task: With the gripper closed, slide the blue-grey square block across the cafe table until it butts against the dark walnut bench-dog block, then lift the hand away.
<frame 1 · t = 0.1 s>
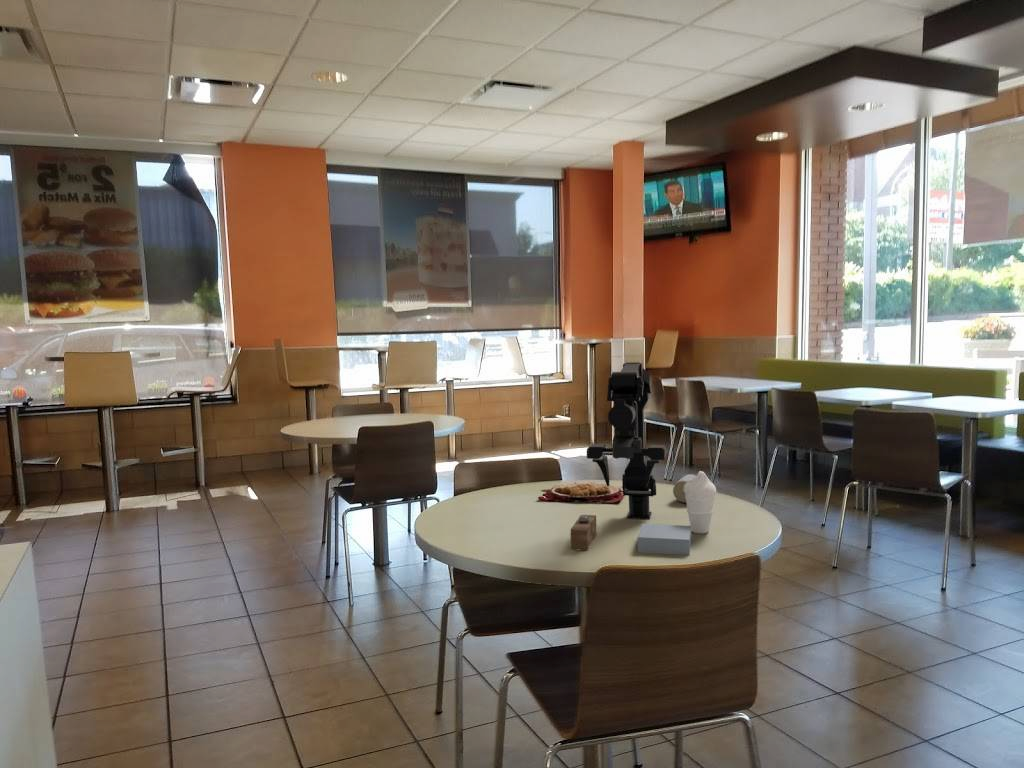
hand: (627, 486, 177), 15 cm above the table, fingers open, 9 cm apart
walnut bench dog: (584, 541, 183), on the table
plate with food: (584, 496, 235), on the table
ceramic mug: (692, 502, 221), on the table
soft serve ice cream cone: (700, 532, 189), on the table
blue-grey square block: (665, 547, 177), on the table
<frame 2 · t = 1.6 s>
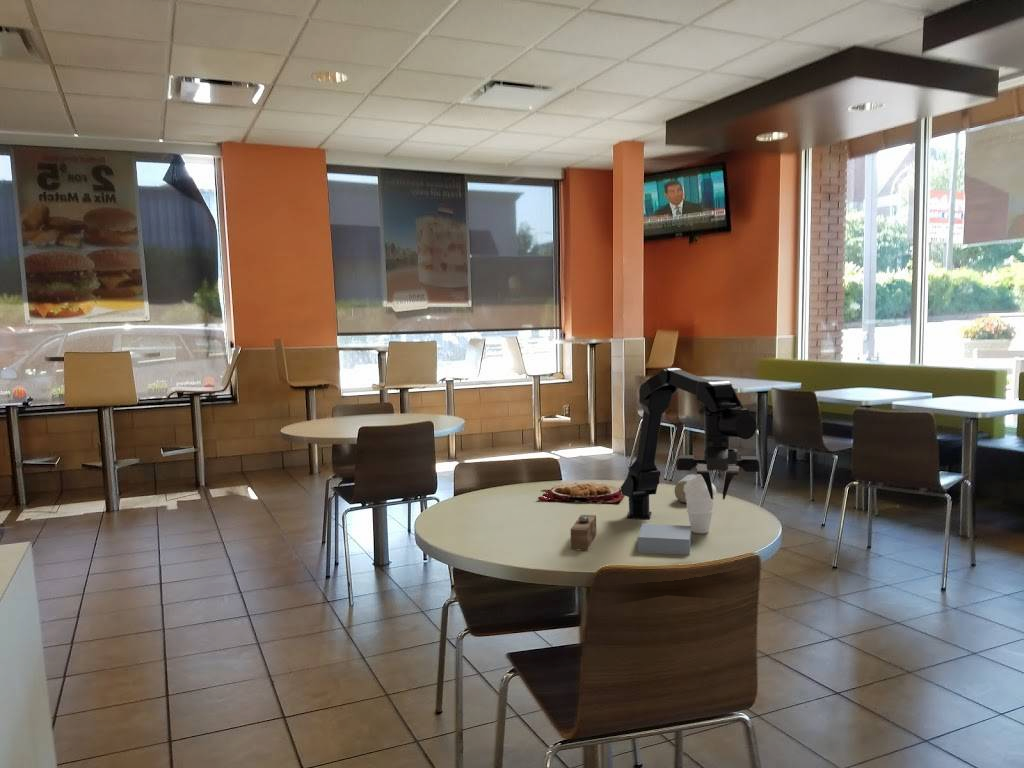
hand: (717, 499, 173), 12 cm above the table, fingers closed
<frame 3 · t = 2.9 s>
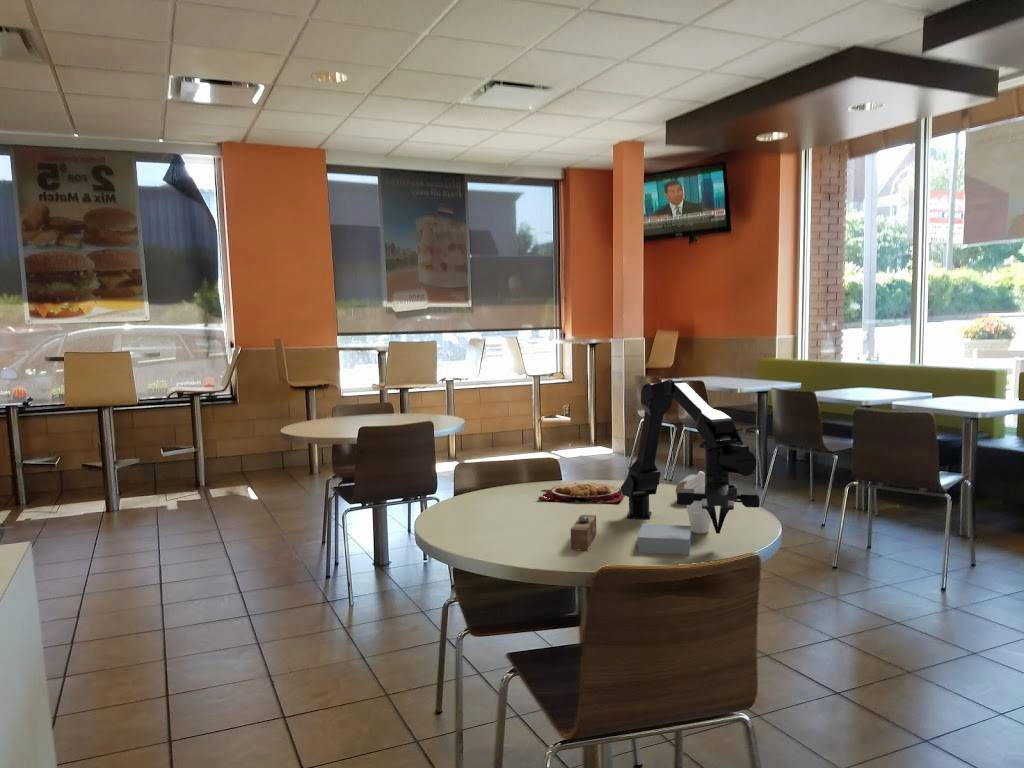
hand: (717, 533, 174), 4 cm above the table, fingers closed
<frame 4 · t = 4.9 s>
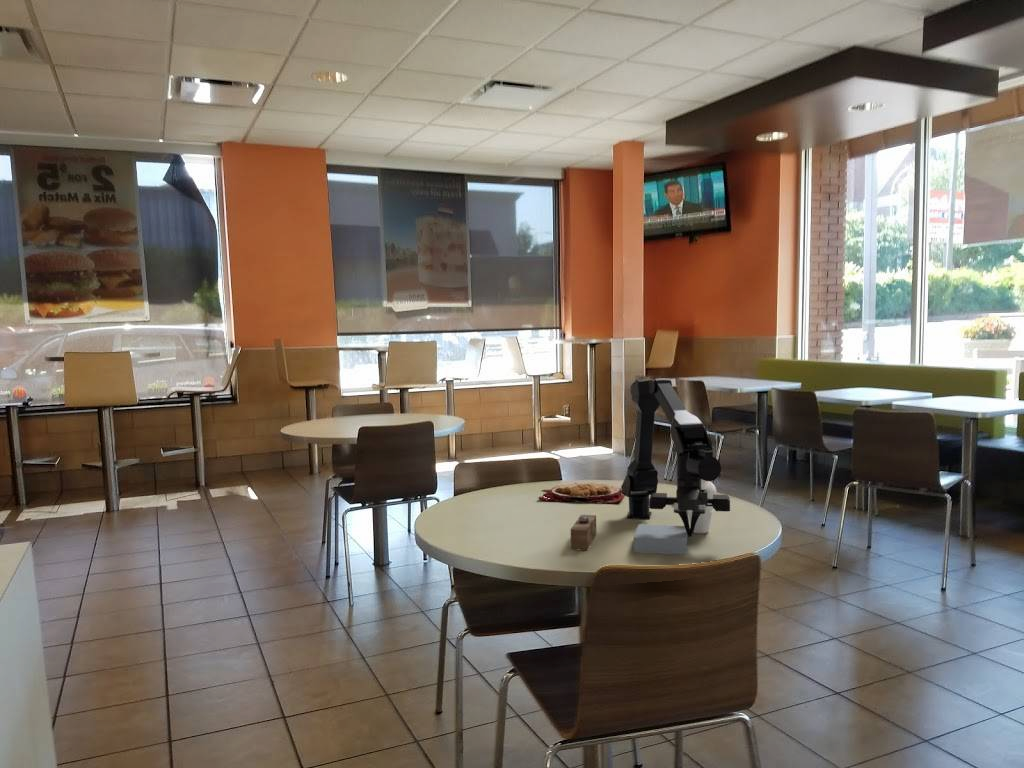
hand: (689, 536, 176), 2 cm above the table, fingers closed
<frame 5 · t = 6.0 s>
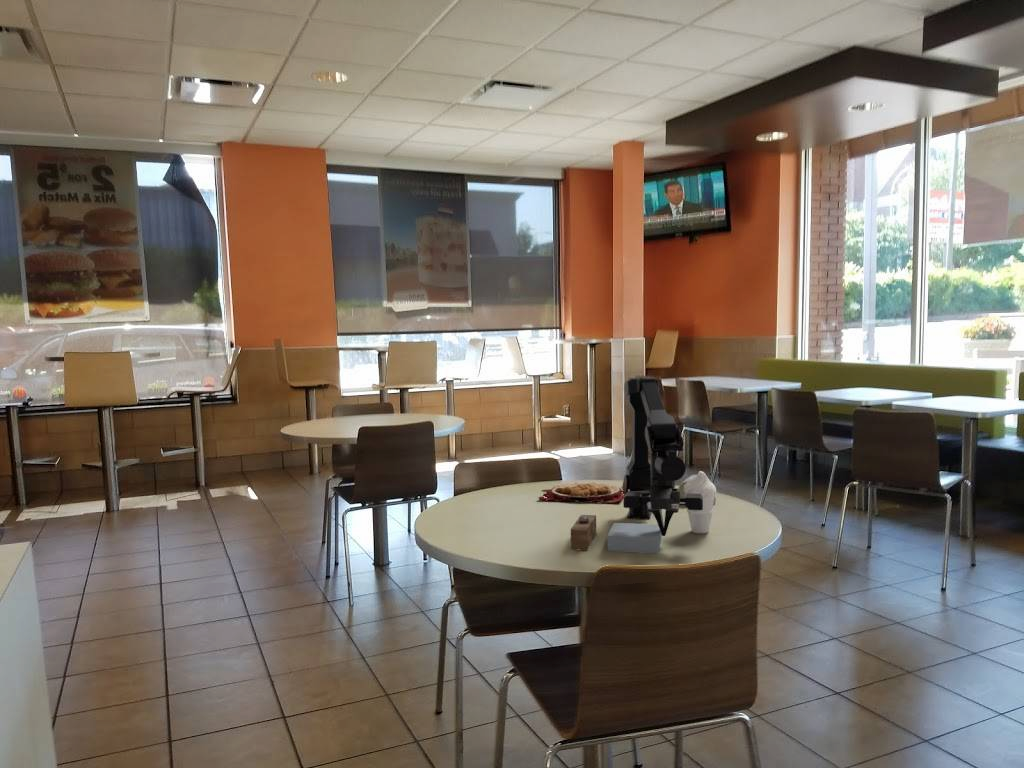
hand: (663, 535, 177), 2 cm above the table, fingers closed
blue-grey square block: (635, 546, 179), on the table, touching gripper
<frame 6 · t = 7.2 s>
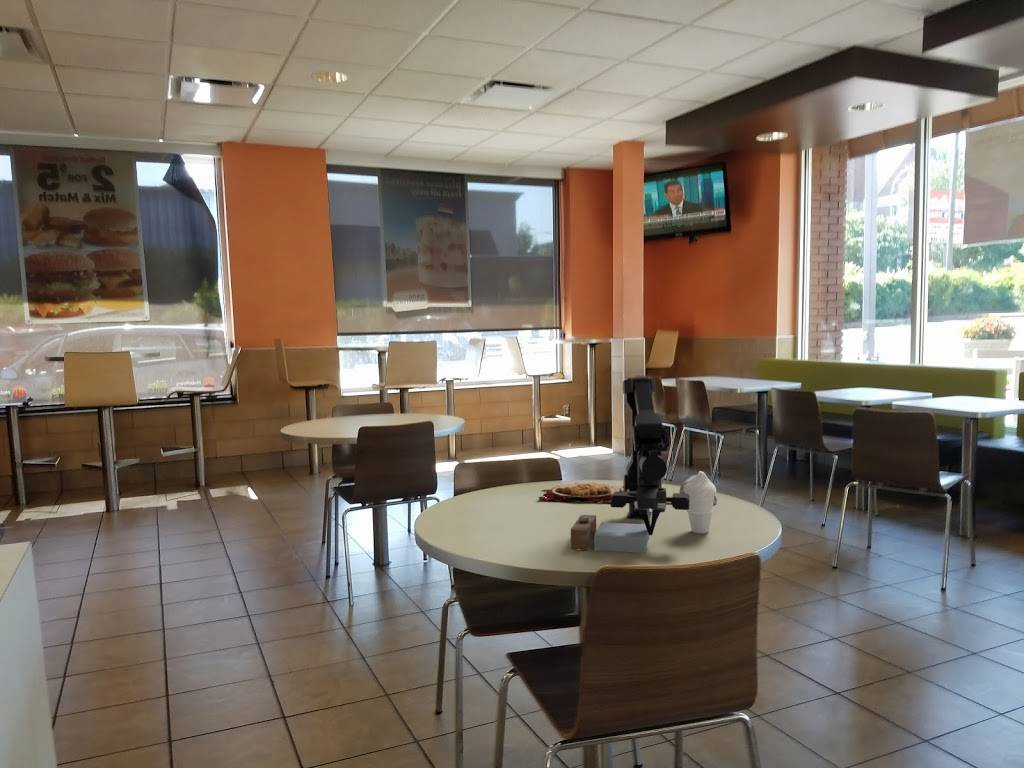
hand: (650, 534, 178), 3 cm above the table, fingers closed
blue-grey square block: (622, 545, 180), on the table
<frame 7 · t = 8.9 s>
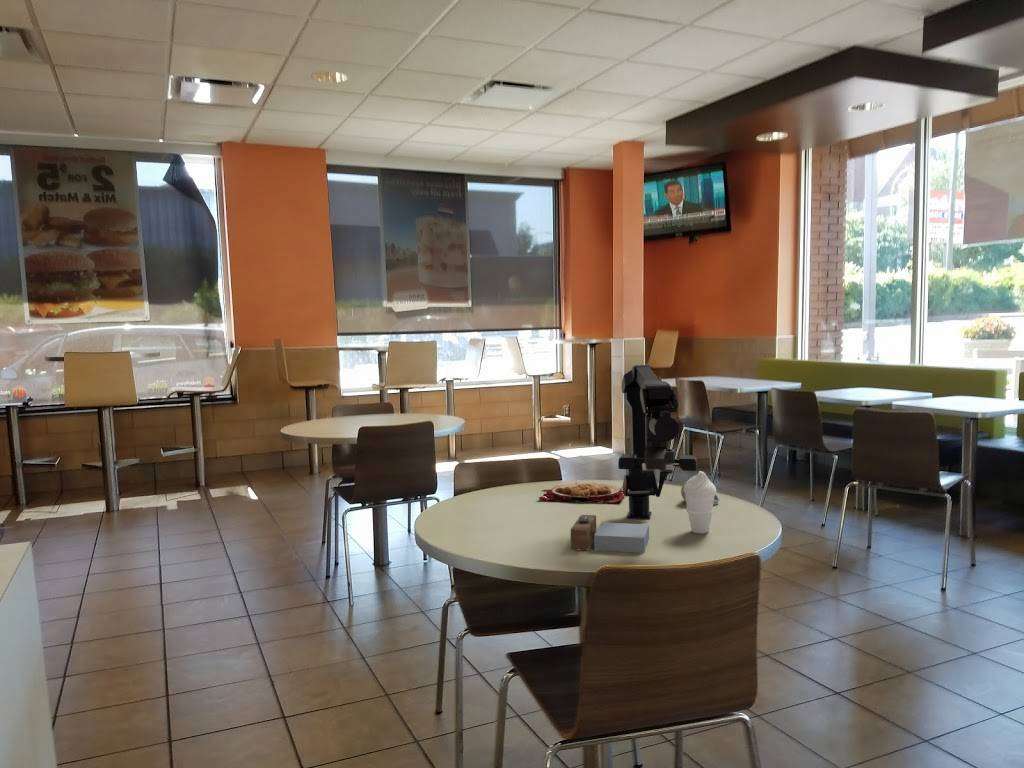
hand: (658, 496, 180), 11 cm above the table, fingers closed
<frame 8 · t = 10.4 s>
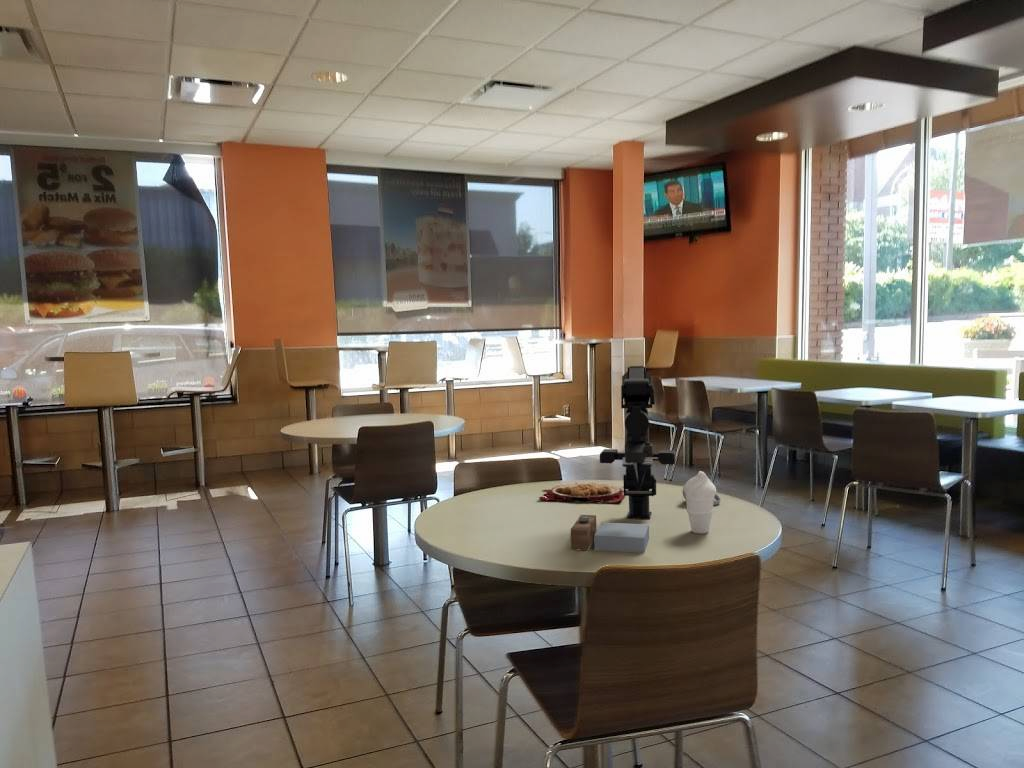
hand: (638, 490, 185), 12 cm above the table, fingers closed
at the end: blue-grey square block 0.7 cm from the target spot, on the table; blue-grey square block moved 10.4 cm from its start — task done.
